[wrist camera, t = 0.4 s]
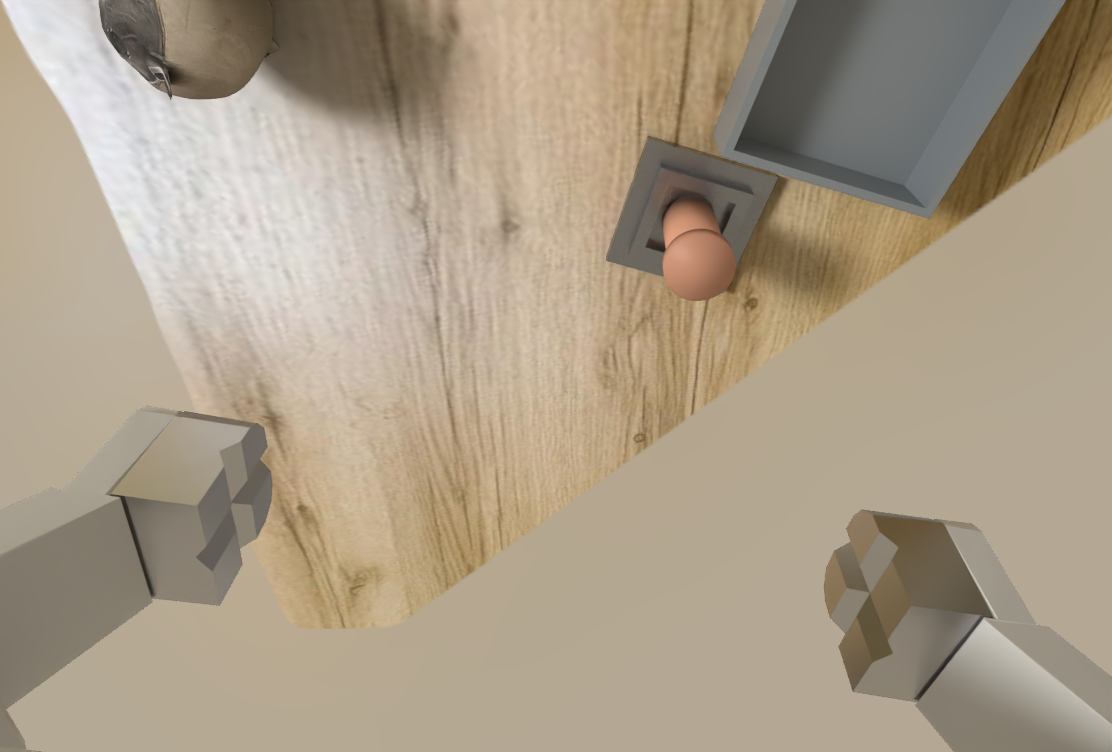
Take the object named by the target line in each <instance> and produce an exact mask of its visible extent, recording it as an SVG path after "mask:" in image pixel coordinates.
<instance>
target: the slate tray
mask: <svg viewBox="0 0 1112 752" xmlns="http://www.w3.org/2000/svg"><path fill="white" fill-rule="evenodd" d="M1065 1H1066V0H766V2H765V4H764V7H763V9H762V12H761V14H760V17H759V19H758V22H757V24H756V27H755V29H754V32H753V34H752V37H751V39H750V42H749V44H748V47H747V49H746V52H745V54H744V57H743V59H742V62H741V64H740V67H739V69H738V72H737V74H736V77H735V79H734V82H733V84H732V87H731V89H730V92H729V94H728V97H727V99H726V102H725V104H724V107H723V109H722V112H721V114H720V117H719V119H718V122H717V124H716V127H715V129H714V132H713V137H714V139H715V142H716V144H717V147H718V149H719V152H720V154H721V156H722V157H725V158H728V159H732V160H735V161H738V162H742V163H745V164H748V165H752V166H755V167H758V168H762V169H765V170H768V171H772V172H775V173H778V174H782V175H785V176H788V177H792V178H795V179H798V180H802V181H805V182H808V183H812V184H815V185H818V186H822V187H825V188H828V189H832V190H835V191H838V192H841V193H845V194H848V195H851V196H855V197H858V198H861V199H865V200H868V201H871V202H875V203H878V204H881V205H885V206H888V207H891V208H895V209H898V210H901V211H905V212H908V213H911V214H915V215H918V216H921V217H925V218H928V219H930V217H931V215H932V214H933V212H934V211H935V209H936V207H937V206H938V204H939V203H940V201H941V199H942V198H943V196H944V195H945V193H946V191H947V190H948V188H949V187H950V185H951V183H952V182H953V180H954V179H955V177H956V175H957V174H958V172H959V171H960V169H961V167H962V166H963V164H964V163H965V161H966V159H967V158H968V156H969V155H970V153H971V151H972V150H973V148H974V147H975V145H976V143H977V142H978V140H979V139H980V137H981V135H982V134H983V132H984V131H985V129H986V127H987V126H988V124H989V123H990V121H991V119H992V118H993V116H994V115H995V113H996V111H997V110H998V108H999V107H1000V105H1001V103H1002V102H1003V100H1004V99H1005V97H1006V95H1007V94H1008V92H1009V91H1010V89H1011V87H1012V86H1013V84H1014V83H1015V81H1016V79H1017V78H1018V76H1019V75H1020V73H1021V71H1022V70H1023V68H1024V67H1025V65H1026V63H1027V62H1028V60H1029V59H1030V57H1031V55H1032V54H1033V52H1034V51H1035V49H1036V47H1037V46H1038V44H1039V43H1040V41H1041V39H1042V38H1043V36H1044V35H1045V33H1046V31H1047V30H1048V28H1049V27H1050V25H1051V23H1052V22H1053V20H1054V19H1055V17H1056V15H1057V14H1058V12H1059V11H1060V9H1061V7H1062V6H1063V4H1064V3H1065Z"/></svg>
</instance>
